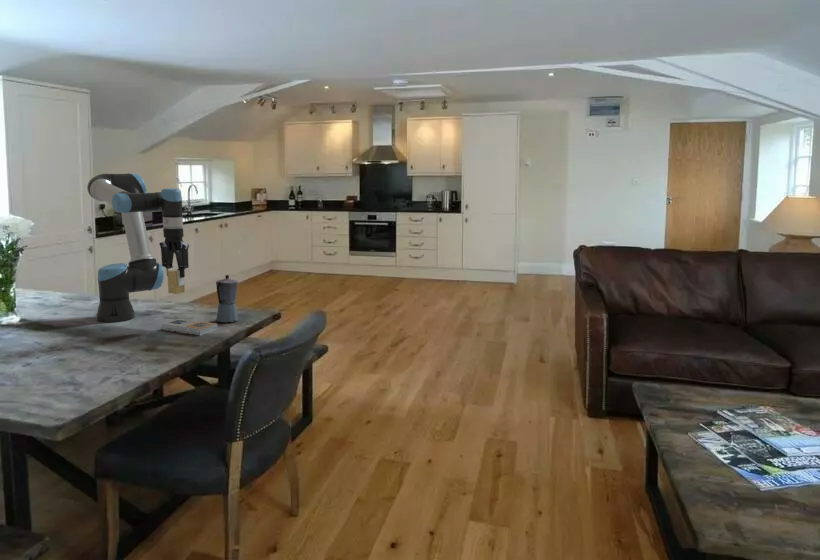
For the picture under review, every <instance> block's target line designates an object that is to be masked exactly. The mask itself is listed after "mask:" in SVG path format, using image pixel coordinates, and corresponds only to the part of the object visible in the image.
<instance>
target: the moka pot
mask: <svg viewBox="0 0 820 560" xmlns="http://www.w3.org/2000/svg"><path fill="white" fill-rule="evenodd" d="M229 276H230V275H229V274H226V275H225V278H224V279H219V280H216V282H215V284H216V293H217V299H218V304H217V306H218V307H217V312H216V313H217V314H216V322H219V323H234V322H237V321H238V320H239V319H238V310H237V309H238V308H237V304H236V303H237V295H238V285H239V281H238V280H235V279H230V278H229Z"/></svg>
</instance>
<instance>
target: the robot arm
mask: <svg viewBox="0 0 820 560" xmlns="http://www.w3.org/2000/svg"><path fill="white" fill-rule="evenodd" d="M86 187H87V192H88V194H89V196H90V197H91V198H93V199H94V200H95V201H99V202H106V203H108V204H110V205H112V208H113V210H114V212H116V213H119V214H121V217H122V222H123V227H124V230H125V235H126V242H127V245H128V251H129V256H130V260H129V261H128V262H127V263H128V265H127V264H126V263H124V262H120V263H119V262H118V263H112V264H107V265H104V266H102V267H100V268H99V269H98V270H97V284H98V296H99V303H98V308H97V312H96V321H98V322H101V323H117V322H125V321H128V320H132V319H134V318H136V314H135V310H134V308H133V305H132V303H131V301H130V293H137V292H146V291H154V290H159V289H160V288H162V285H163V283H164V279H165V271H164V268H165V269H166V272H167V271H170V270H175V268H174V266H173V263H174V256H175V259H176V264H177V269H176V270H177V279H178V286H182V285H184V286H185V274H186V273H185V270H186V269H189V247H190V245H189V243H185V242H184V240H183V238H184V236H185V235H184V221H183V217H184V216H183V197H182V191H181V189H179V188H162V189H161V191H155V192H147V185H146V183H145V180H144V179H143V177H142V176H141V175H140V174H138V173H130V172H128V173H99V174H98V175H95V176H93V177H92V178H90V180H89V181H88V184H87V186H86ZM145 212H146V213H147V212H150V213H151V212H162V216H161V217H162V227H163V238H165V239H164V241H161V242H159V247H160V253H161V254H160V256H161V262H157V258H156V257H155V256H153V255H152V252H151V248H150V247H151V246H150V241H149V237H148V231H147V227H146V222H145V218H144V214H143V213H145ZM166 276H167V277H168V275H167V274H166Z"/></svg>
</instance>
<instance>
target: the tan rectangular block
mask: <svg viewBox="0 0 820 560" xmlns="http://www.w3.org/2000/svg"><path fill="white" fill-rule="evenodd" d="M167 275H168V276H167ZM166 276H167V292H168V294H173V295H174V294H176V295H179V294H182V293H183V294H184V293H185V292H186V289H185V284H184V285H182V286H178V279H177V269H174V270H170V271H167V270H166Z"/></svg>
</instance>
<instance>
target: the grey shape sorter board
mask: <svg viewBox="0 0 820 560" xmlns="http://www.w3.org/2000/svg"><path fill="white" fill-rule="evenodd" d="M162 329H163V330H164V331H168V330H169V332H174V331H176V333H181V334H187V333H188V334H189V335H193V334H194V336H204V335H205V334H206V335H207V334H210V333H211V332H212V333H213V332H216V331H218V323H215V322H207V321H201V320H195V319H187V318H177V319H174V320H169V321H167V322H163V323H161V330H162ZM163 330H162V331H163Z"/></svg>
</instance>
